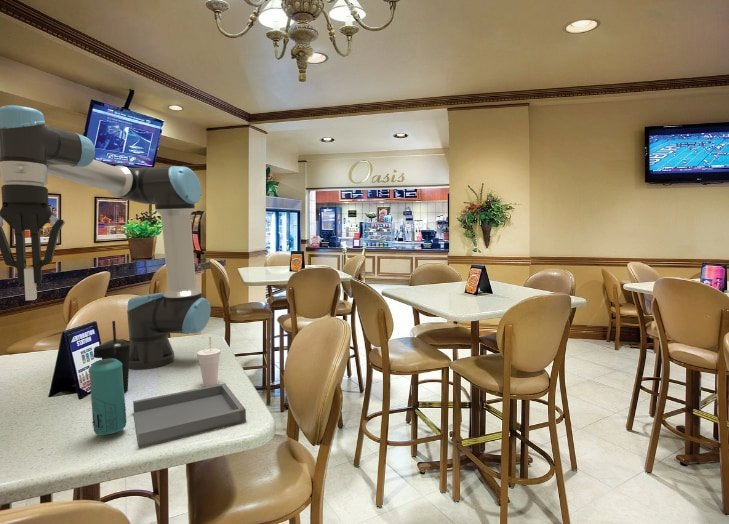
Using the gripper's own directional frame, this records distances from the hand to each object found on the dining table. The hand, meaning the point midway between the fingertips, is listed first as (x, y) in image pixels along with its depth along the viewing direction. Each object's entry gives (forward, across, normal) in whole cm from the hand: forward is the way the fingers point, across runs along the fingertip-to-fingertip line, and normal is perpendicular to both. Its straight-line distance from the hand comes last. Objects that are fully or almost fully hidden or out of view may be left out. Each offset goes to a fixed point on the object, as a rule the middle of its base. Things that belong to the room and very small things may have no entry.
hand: (31, 299), depth 89 cm
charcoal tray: (+30, +29, -4) cm, 42 cm away
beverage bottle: (+31, +13, -4) cm, 34 cm away
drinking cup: (+30, +14, +24) cm, 41 cm away
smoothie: (+30, +38, +16) cm, 51 cm away
